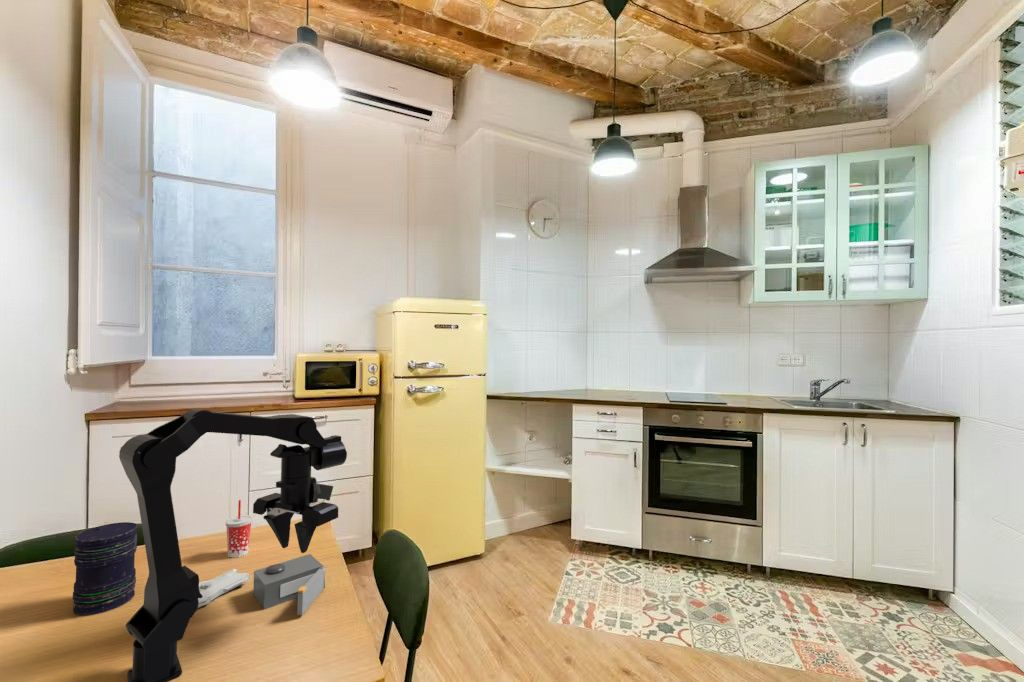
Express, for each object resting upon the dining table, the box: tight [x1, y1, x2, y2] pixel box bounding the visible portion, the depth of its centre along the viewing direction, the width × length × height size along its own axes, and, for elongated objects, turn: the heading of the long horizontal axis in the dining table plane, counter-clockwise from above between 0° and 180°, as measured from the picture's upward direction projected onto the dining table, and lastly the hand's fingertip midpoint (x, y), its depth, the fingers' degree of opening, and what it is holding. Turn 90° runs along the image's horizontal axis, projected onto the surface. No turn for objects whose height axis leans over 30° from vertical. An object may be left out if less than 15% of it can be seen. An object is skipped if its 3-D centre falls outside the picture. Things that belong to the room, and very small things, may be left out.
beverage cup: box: [224, 499, 254, 558], centre depth 116 cm, size 6×6×14 cm
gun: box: [198, 568, 251, 609], centre depth 95 cm, size 18×4×10 cm
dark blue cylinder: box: [72, 521, 138, 617], centre depth 93 cm, size 10×10×15 cm
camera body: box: [253, 553, 324, 610], centre depth 98 cm, size 8×12×6 cm
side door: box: [296, 565, 326, 616], centre depth 94 cm, size 1×11×5 cm, turn 0°
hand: (294, 549), depth 92 cm, fingers open, 5 cm apart
